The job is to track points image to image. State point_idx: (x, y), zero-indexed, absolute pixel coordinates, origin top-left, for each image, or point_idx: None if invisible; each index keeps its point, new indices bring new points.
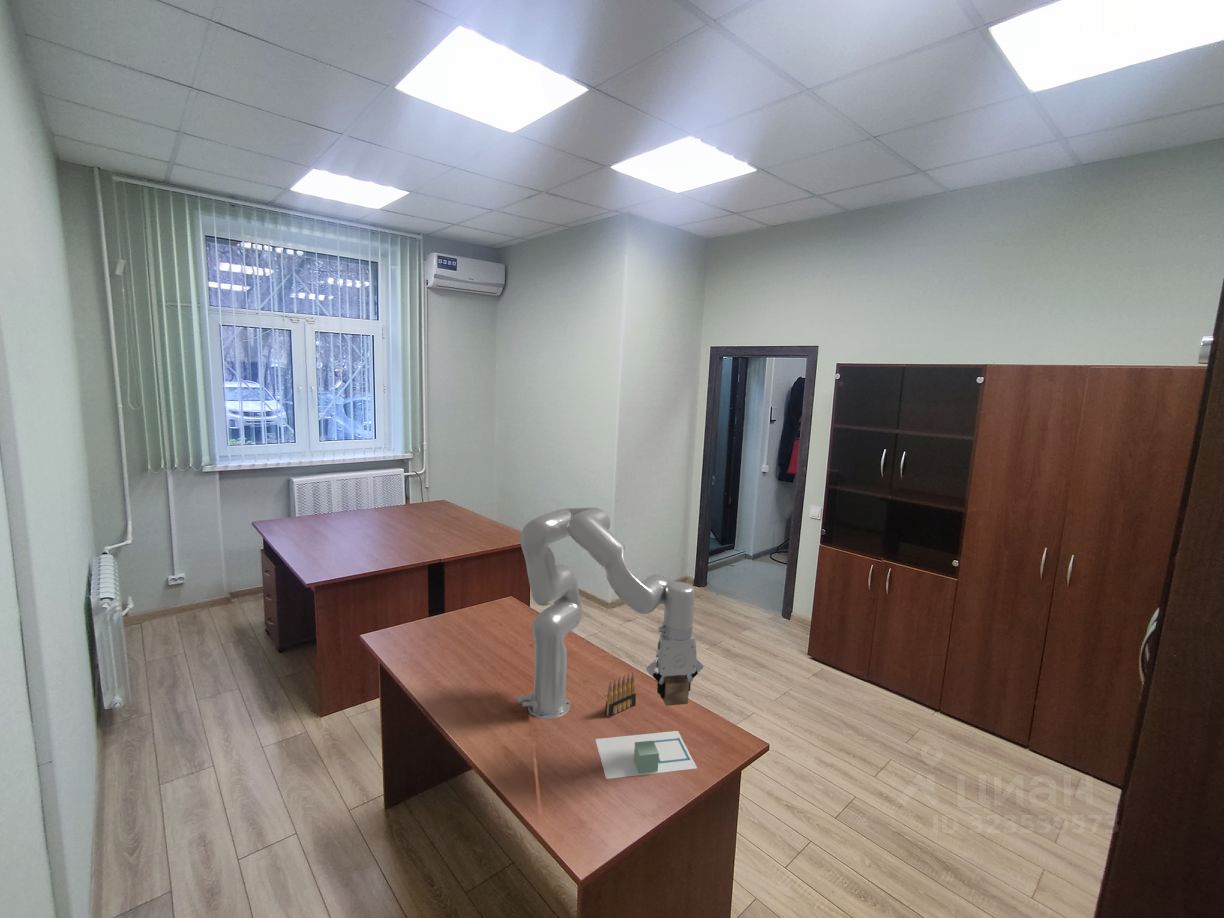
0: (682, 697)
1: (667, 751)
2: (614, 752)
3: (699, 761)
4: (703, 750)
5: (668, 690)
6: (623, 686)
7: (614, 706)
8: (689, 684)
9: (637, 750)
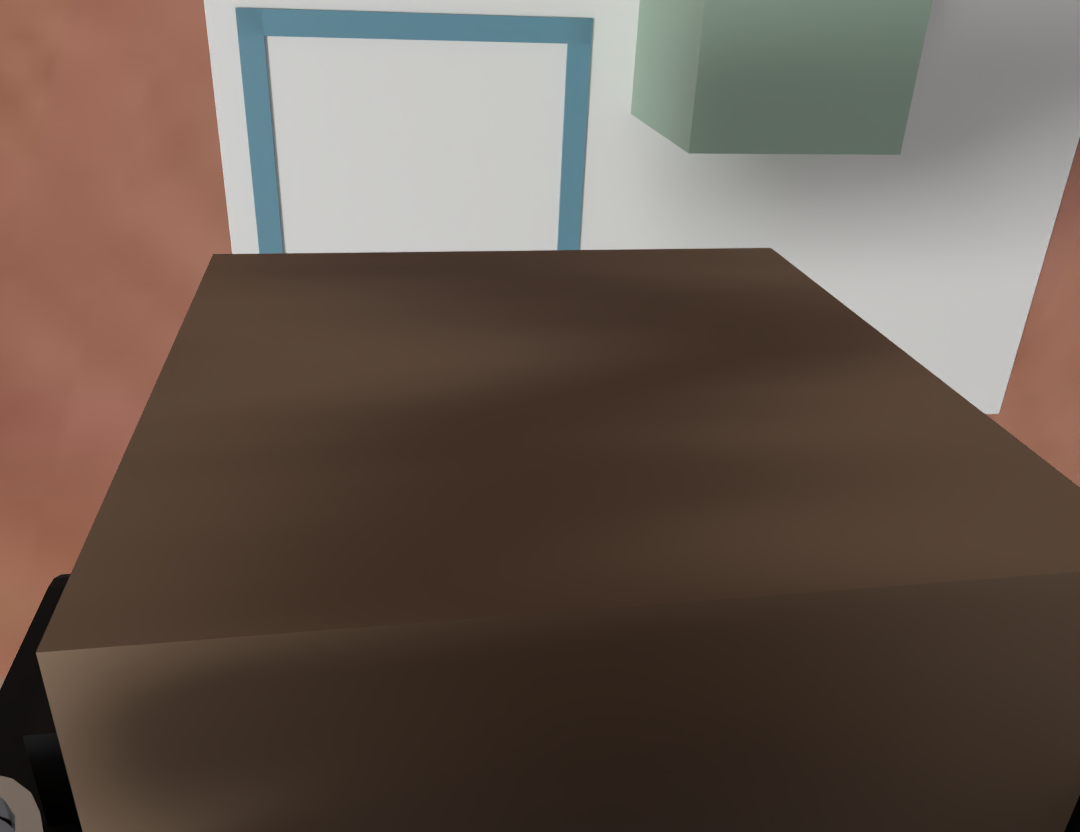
0: (374, 320)
1: (448, 178)
2: (928, 238)
3: (122, 15)
4: (34, 177)
5: (940, 422)
6: None
7: None
8: (28, 720)
9: (918, 25)
